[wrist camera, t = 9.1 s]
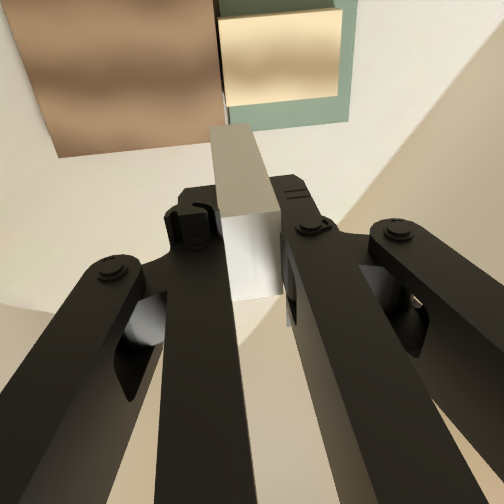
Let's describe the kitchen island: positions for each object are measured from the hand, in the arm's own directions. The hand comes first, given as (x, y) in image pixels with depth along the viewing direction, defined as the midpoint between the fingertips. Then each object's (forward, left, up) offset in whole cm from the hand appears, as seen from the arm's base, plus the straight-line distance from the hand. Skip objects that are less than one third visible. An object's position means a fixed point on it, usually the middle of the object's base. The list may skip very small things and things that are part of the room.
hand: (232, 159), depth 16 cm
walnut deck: (0, -7, -20) cm, 22 cm away
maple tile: (0, +5, -20) cm, 21 cm away
